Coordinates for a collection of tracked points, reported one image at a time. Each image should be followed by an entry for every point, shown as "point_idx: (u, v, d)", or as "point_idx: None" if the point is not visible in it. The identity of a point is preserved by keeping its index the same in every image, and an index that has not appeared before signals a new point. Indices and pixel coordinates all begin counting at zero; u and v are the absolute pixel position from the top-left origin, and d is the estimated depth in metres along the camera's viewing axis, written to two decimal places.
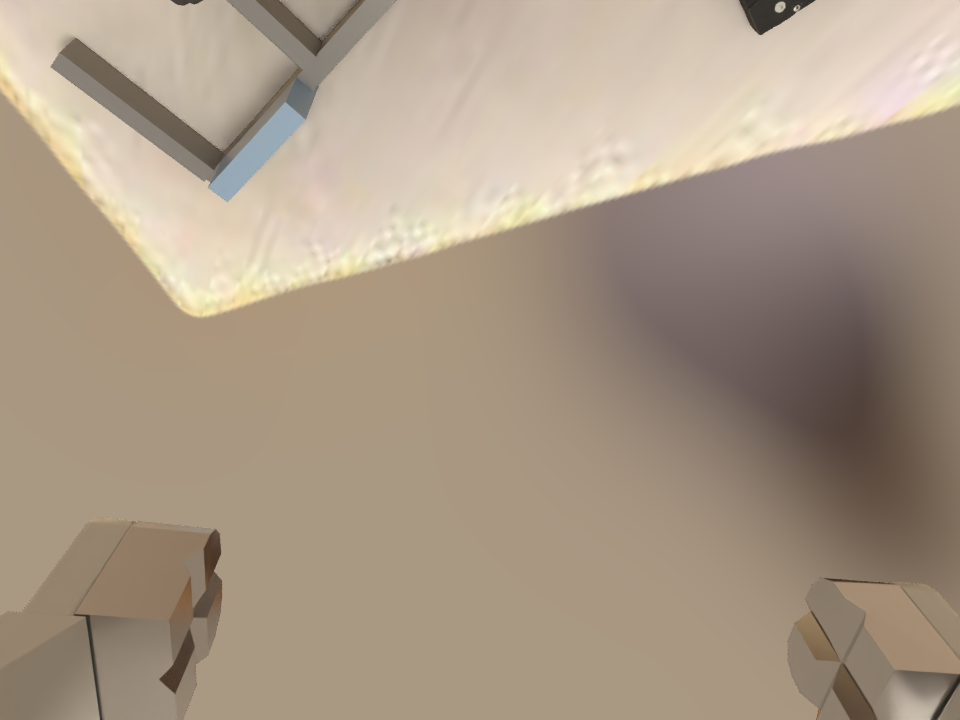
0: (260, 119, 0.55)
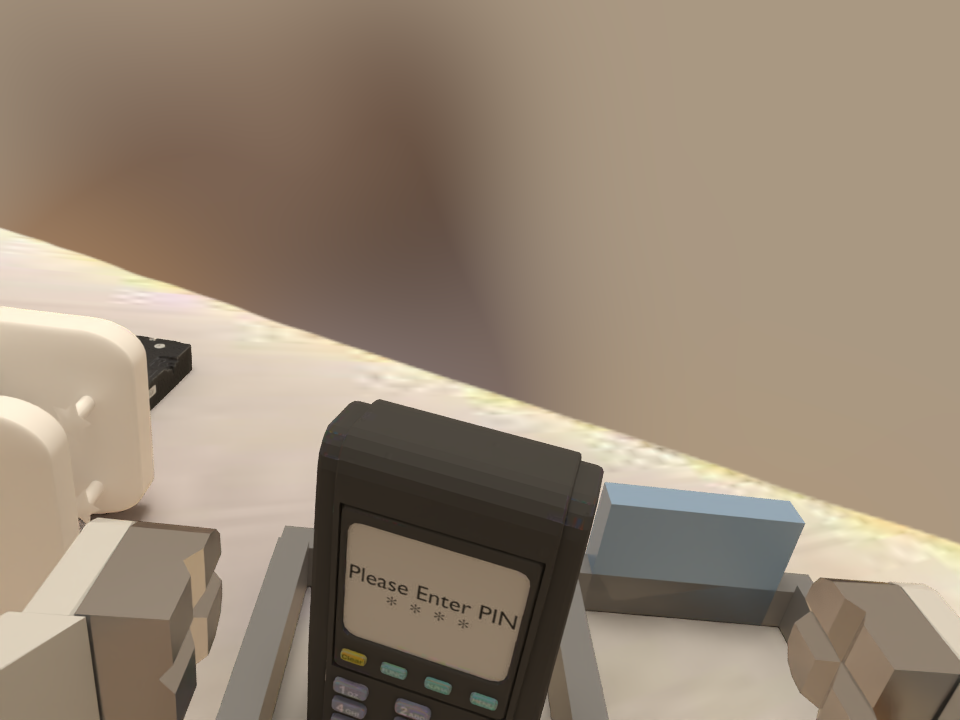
0: (677, 568, 0.36)
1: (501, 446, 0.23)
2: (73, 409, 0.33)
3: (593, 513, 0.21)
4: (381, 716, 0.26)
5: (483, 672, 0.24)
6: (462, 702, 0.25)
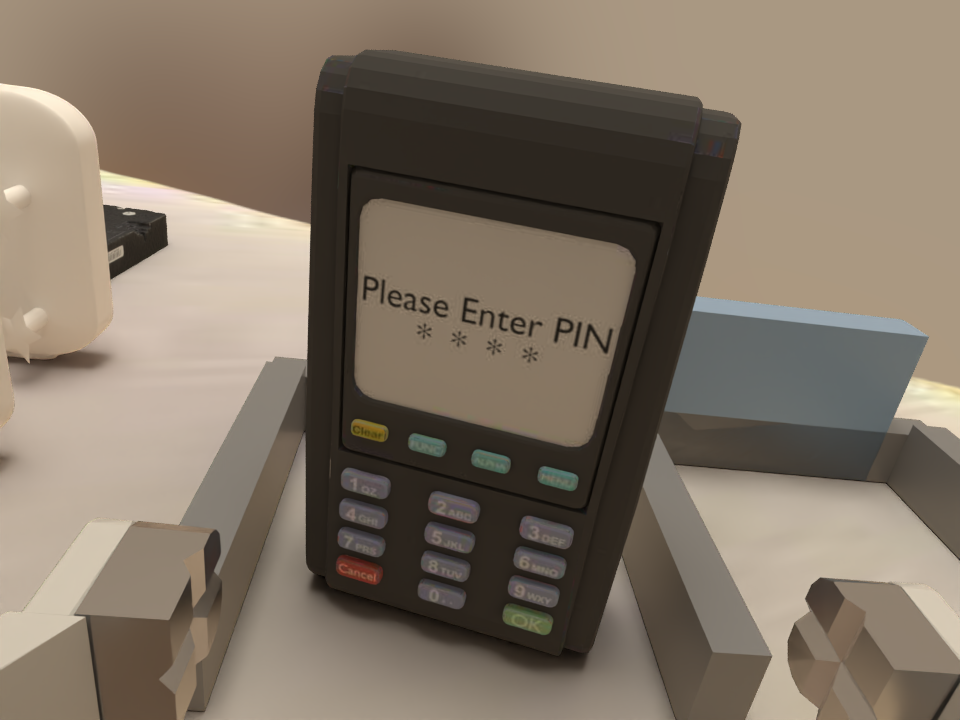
0: (766, 402, 0.29)
1: (584, 81, 0.15)
2: None
3: (737, 136, 0.14)
4: (408, 524, 0.19)
5: (557, 435, 0.17)
6: (525, 487, 0.17)
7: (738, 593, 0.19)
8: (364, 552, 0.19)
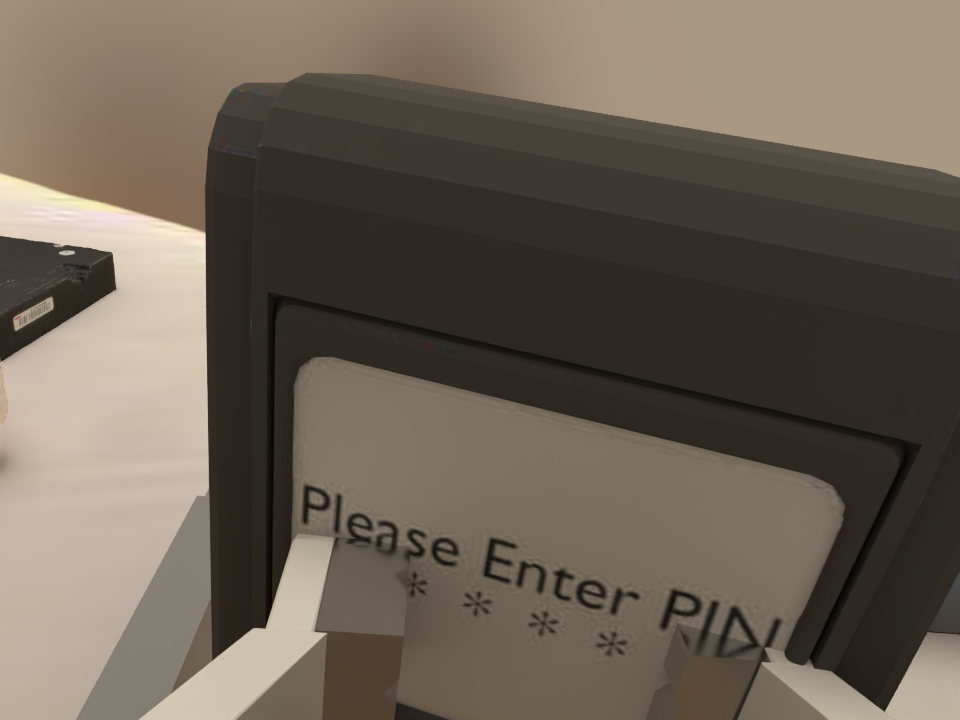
0: None
1: (726, 137, 0.08)
2: None
3: None
4: None
5: None
6: None
7: None
8: None
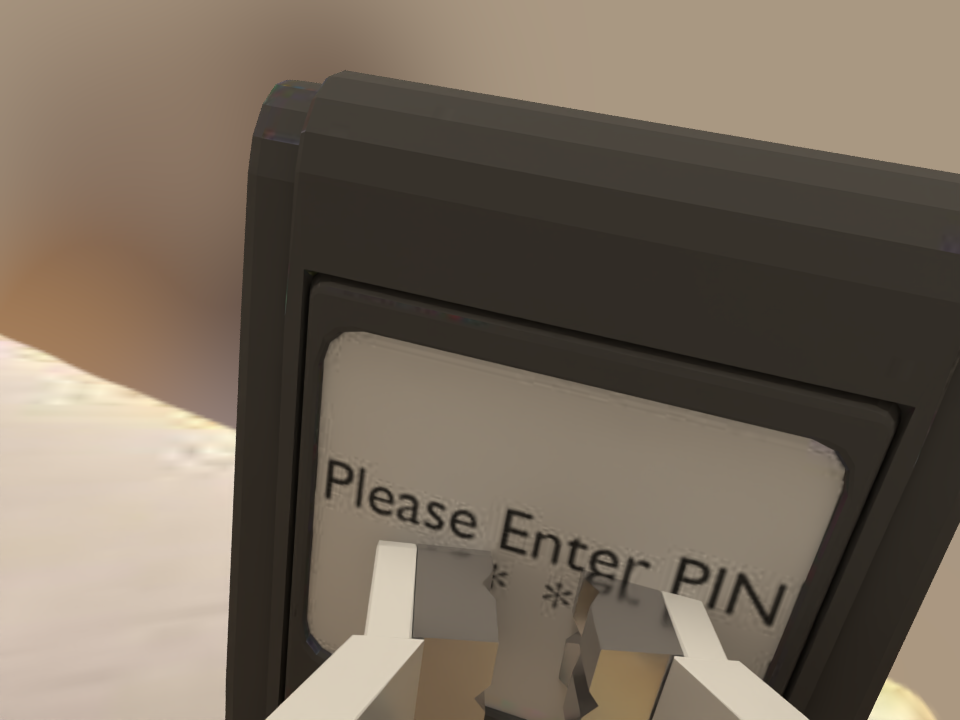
0: None
1: None
2: None
3: None
4: None
5: None
6: None
7: None
8: None
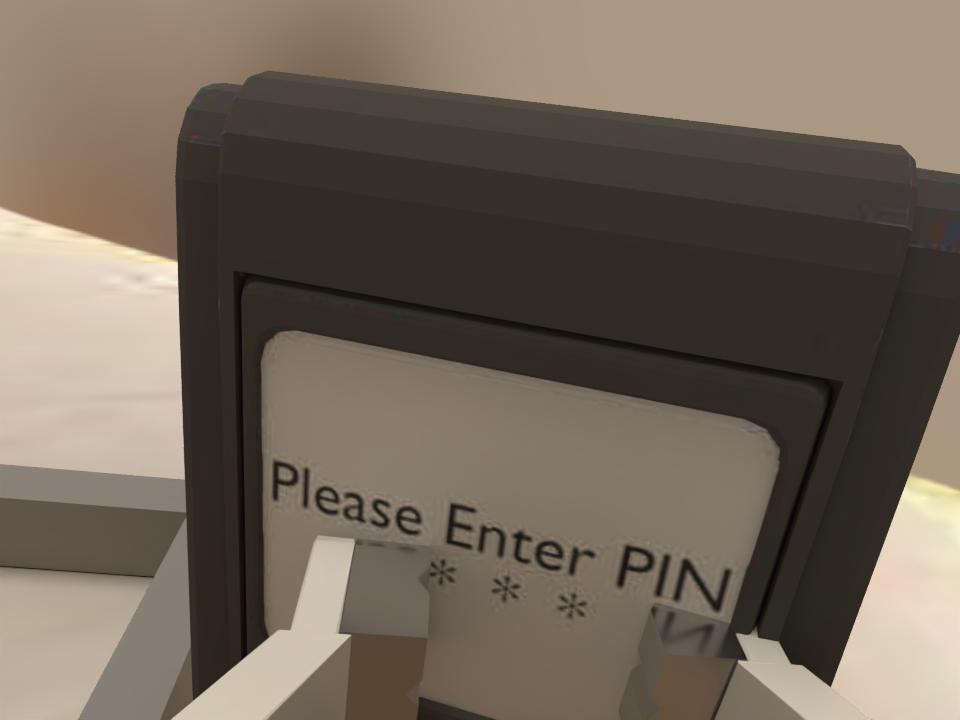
0: None
1: None
2: None
3: None
4: None
5: None
6: None
7: None
8: None
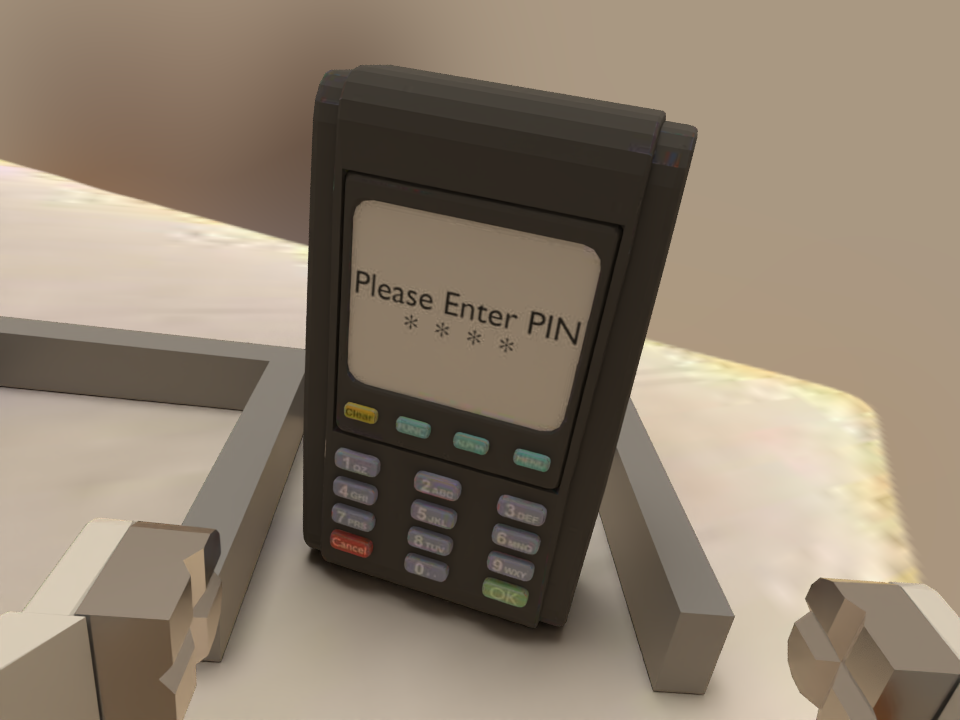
0: None
1: (559, 95, 0.17)
2: None
3: (692, 147, 0.15)
4: (396, 501, 0.20)
5: (532, 419, 0.18)
6: (502, 467, 0.19)
7: (238, 523, 0.19)
8: (355, 527, 0.21)
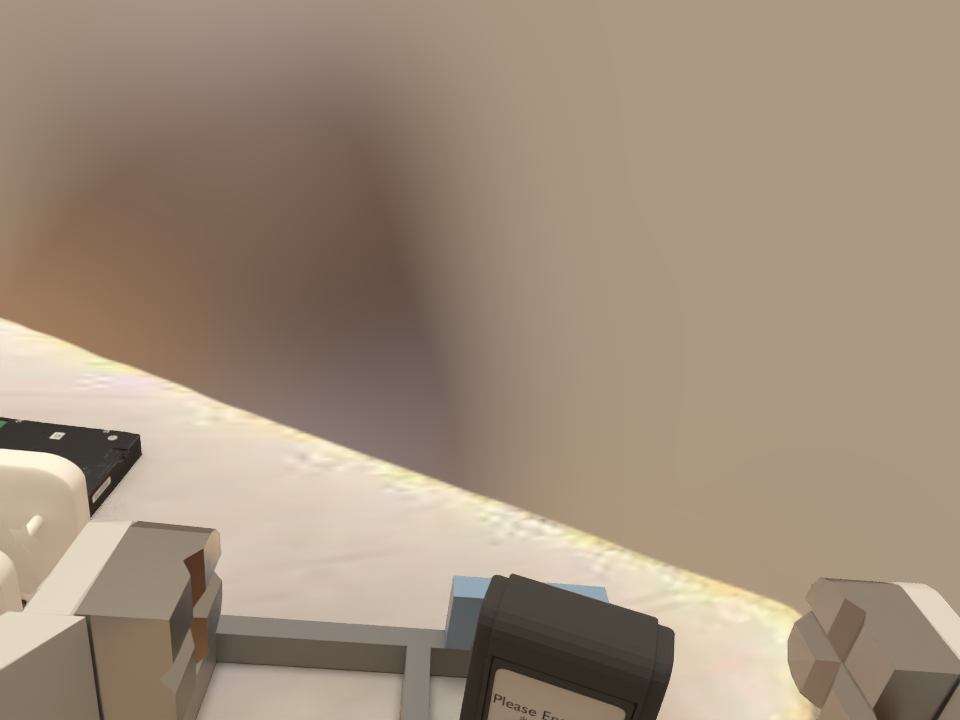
0: None
1: (603, 616, 0.33)
2: (24, 530, 0.42)
3: (671, 671, 0.31)
4: None
5: None
6: None
7: None
8: None
